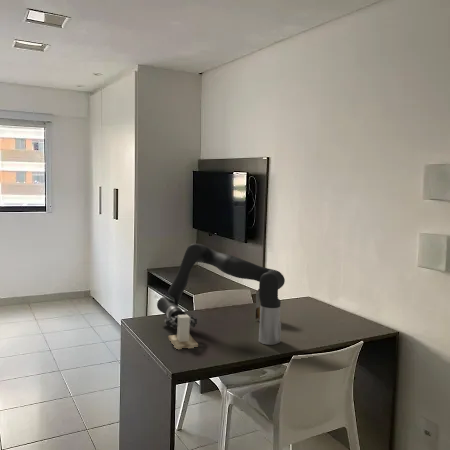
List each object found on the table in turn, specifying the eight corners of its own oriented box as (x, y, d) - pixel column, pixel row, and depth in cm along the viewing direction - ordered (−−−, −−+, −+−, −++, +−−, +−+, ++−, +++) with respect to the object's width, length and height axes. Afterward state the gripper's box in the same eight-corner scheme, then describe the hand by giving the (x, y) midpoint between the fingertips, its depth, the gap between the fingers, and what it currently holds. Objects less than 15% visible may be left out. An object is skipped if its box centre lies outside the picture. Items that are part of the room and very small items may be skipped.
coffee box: (273, 319, 254) (275, 290, 252) (271, 323, 248) (273, 292, 246) (257, 317, 257) (258, 288, 255) (254, 320, 250) (256, 291, 249)
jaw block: (186, 337, 216) (187, 314, 215) (188, 341, 212) (189, 317, 211) (177, 338, 215) (177, 315, 214) (179, 341, 211) (180, 317, 210)
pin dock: (189, 336, 222) (189, 328, 222) (198, 347, 209) (198, 338, 209) (168, 338, 219) (168, 330, 218) (176, 349, 206) (176, 340, 205)
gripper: (161, 308, 223) (169, 318, 208) (190, 306, 228) (200, 316, 213) (160, 323, 224) (169, 335, 208) (189, 321, 229) (199, 332, 213)
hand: (184, 325), depth 211 cm, fingers open, 8 cm apart
